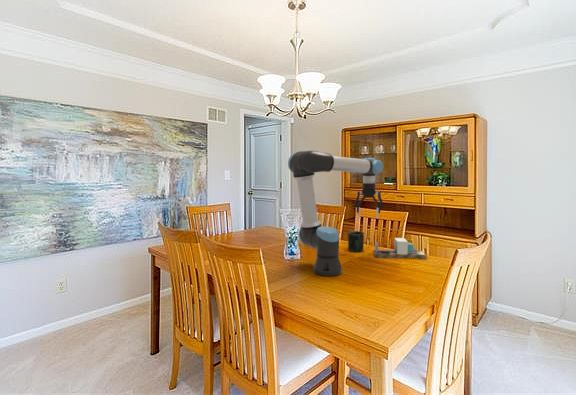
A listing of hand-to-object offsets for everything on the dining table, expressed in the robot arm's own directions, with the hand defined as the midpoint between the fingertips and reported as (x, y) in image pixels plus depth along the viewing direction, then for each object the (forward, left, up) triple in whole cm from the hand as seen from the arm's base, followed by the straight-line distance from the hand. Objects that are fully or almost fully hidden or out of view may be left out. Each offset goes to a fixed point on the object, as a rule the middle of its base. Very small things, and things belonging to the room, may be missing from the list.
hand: (368, 218), depth 202 cm
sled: (+13, -11, -21) cm, 27 cm away
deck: (+14, -12, -24) cm, 30 cm away
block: (+18, -16, -20) cm, 31 cm away
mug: (+4, +14, -24) cm, 28 cm away
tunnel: (+15, -13, -21) cm, 29 cm away
